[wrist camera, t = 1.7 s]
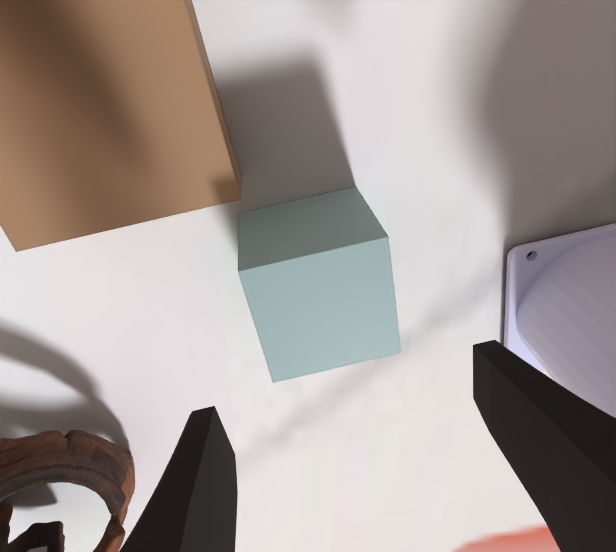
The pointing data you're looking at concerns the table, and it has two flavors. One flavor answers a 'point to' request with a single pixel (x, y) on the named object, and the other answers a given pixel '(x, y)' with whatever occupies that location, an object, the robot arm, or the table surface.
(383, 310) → the cube
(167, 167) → the slab
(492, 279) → the table surface
